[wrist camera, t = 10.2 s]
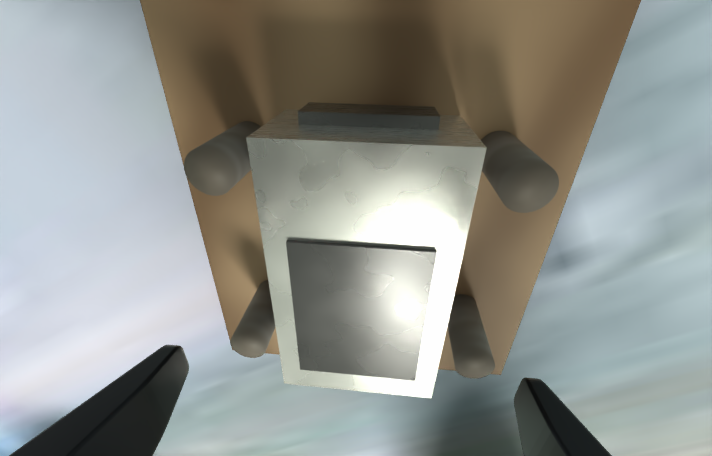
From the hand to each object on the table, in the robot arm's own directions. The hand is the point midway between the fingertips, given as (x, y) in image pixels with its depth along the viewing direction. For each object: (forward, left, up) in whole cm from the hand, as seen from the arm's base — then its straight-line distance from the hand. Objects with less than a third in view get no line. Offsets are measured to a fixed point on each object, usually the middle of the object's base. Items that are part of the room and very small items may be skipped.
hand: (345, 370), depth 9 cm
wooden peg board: (0, 0, -8) cm, 8 cm away
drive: (0, 0, -7) cm, 7 cm away
